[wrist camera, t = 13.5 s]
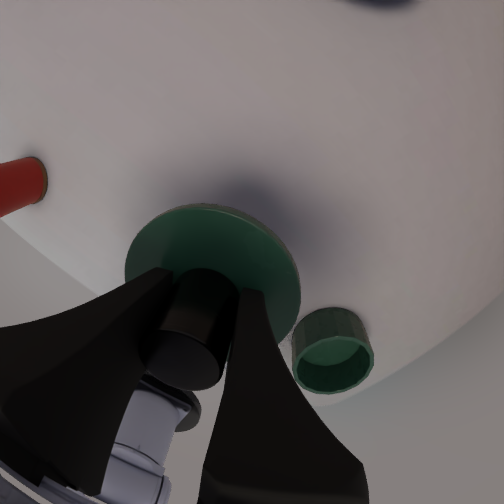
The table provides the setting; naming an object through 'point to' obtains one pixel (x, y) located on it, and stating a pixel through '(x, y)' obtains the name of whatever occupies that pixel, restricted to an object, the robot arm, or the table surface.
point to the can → (19, 184)
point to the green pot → (331, 351)
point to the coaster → (43, 180)
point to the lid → (209, 288)
